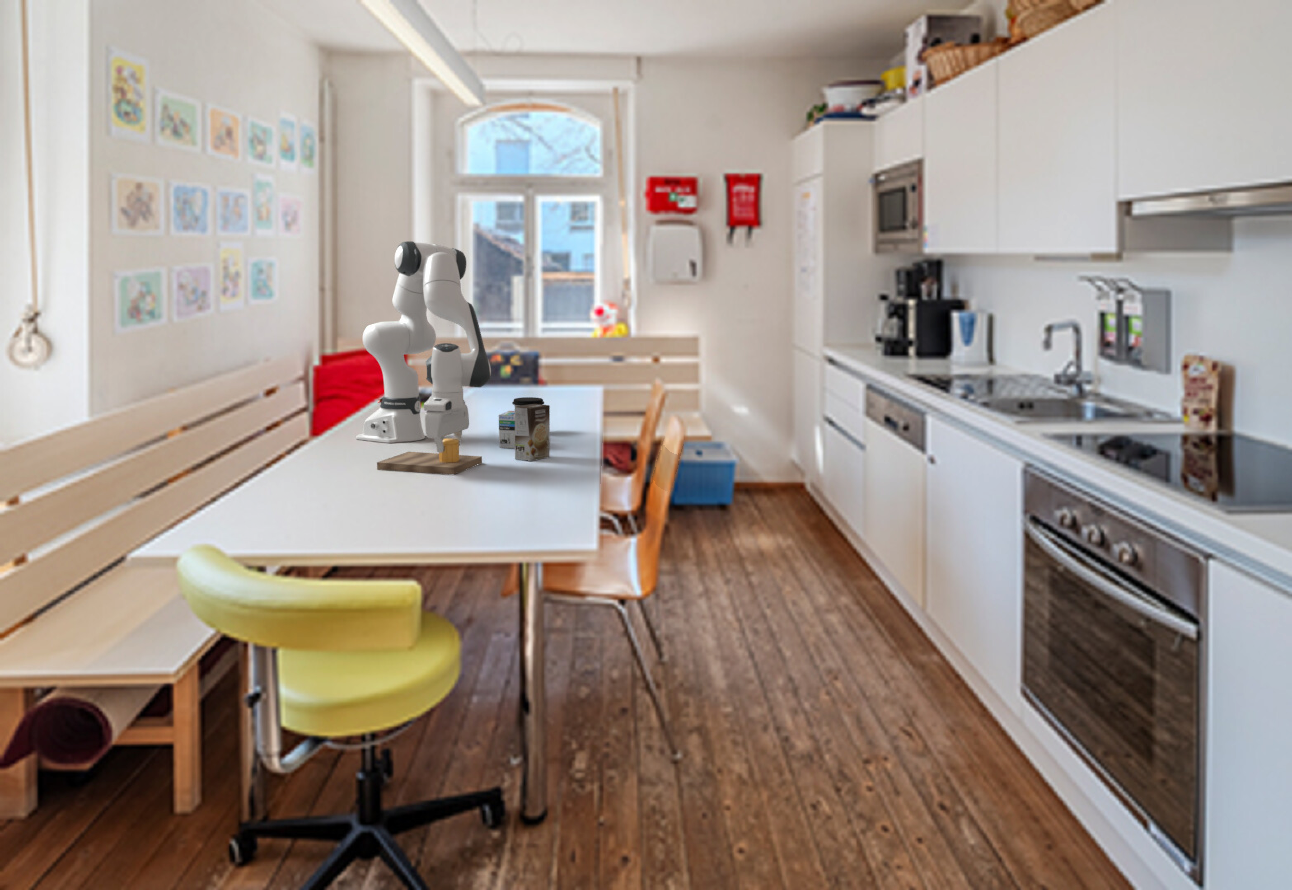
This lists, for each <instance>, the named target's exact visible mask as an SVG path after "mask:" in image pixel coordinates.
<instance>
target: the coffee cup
mask: <svg viewBox="0 0 1292 890" xmlns="http://www.w3.org/2000/svg"><path fill="white" fill-rule="evenodd" d="M530 404H542V405H545V401H544V399H543V398H541V397H532V396H531V397H530V396H529V397H517V398H514V399H513V401H512V405H513V406H514V407H515V406H522V405H530Z"/></svg>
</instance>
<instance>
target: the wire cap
mask: <svg viewBox="0 0 1292 890" xmlns="http://www.w3.org/2000/svg"><path fill="white" fill-rule="evenodd" d="M443 445H444V446H445V451H444V452H442V453H441V452H438V454H439V461H440V462H446V463H448V462H457V461H459V455H460V446H459V439H454V437H452V438H450V437H449V438H443Z"/></svg>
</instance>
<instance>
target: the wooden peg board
mask: <svg viewBox="0 0 1292 890" xmlns="http://www.w3.org/2000/svg"><path fill="white" fill-rule="evenodd" d="M477 464H479V465H481V464H483V456H482V455H481V456H479V455H467V454H465V455H464V454H459V461H457V462H448V463H446V462H440V461H439V452H435V453H434V452H423V451H421V452H420V451H419V452H418V451H407V452H404V453H400V454H398V455H395V456H393V457H388V458H386V459H383V460H379V461H378V462H377V461H376V469H377V470H380V469H382V470H381V471H394V470H395V472H396V471H397V472H410V473H411V472H412V473H422V474H435V473H442V474H441V475H449V474H455V475H457V474H459V473H462V472H464V471H467V470H470V469H472V468H473V466H474V467H476V466H478V465H477ZM475 465H476V466H475ZM466 469H467V470H466ZM456 473H457V474H456Z"/></svg>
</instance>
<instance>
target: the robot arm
mask: <svg viewBox="0 0 1292 890" xmlns="http://www.w3.org/2000/svg"><path fill="white" fill-rule="evenodd" d="M394 267H395V269H396V270H397V272H398V273H399V274H398V277H397V280H396V283H395V287H394V291H393V296H392V299H391V300H392V301H391V303H392V305H393V307H394V309H395V310H396V312H398V313H400V314H401V316H400V318H399V320H395V321H394V320H393V321H379V322H375V323H373V324H369V325H367V326H366V327H365V329H364V331H363V333H362V344H363V347H364V349H365V350H366V351H367V352H368V353H369V354H370V355H372V357H374V358H375V360H376V361H377V362H378V364H379V366H380V369H381V372H382V378H383V390H384V393H383V394H384V396H383V397H381V398H380V399H377V404H380V406H379V408H378V409H376V410H375V411H374V412H373V413H372V414H370V415H369V416H368V417H366V419H365V421H364V422H363V427H362V433H359V434H357V435H356V436H355V437H356V438H355V439H356V440H360V441H369V442H378V443H379V442H380V443H387V444H390V443H391V444H392V443H400V442H401V443H402V442H414V441H421V440H424V439H425V438H426V437H427V439H434V444H435V446H436V453H439V452H441V453H442V452H444V451H445V446H444V445H443V439H444V437H446V436H449V435H452V434H453V435H454V436H453V439H459V447H460V446H461V439H462V436H463V431H465V430H467V429H469V426H470V416H469V415H470V414H469V409H468V406H467V404H466V401H465V400H464V387H470V388H482V387H483V386H485V385H486V384H487V383H488V382H489V381H490V379H491V374H492V369H491V367H492V366H491V364H490V361H489V358H488V355H487V352H486V349H485V345H484V340H483V336H482V333H481V329H480V324H479V320H478V317H477V313H476V311H475V308H474V306H473V304H472V303H470V302H469V301H467V300H466V299H465V297H464V296H463V294H462V285H461V280H462V279H463V278H464V276H465V274H466V270H467V258H466V255H465V253H464V252H463V251H462V250H459V249H457V248H453V247H452V248H451V247H447V246H444V245H441V244H436V243H426V242H425V243H424V242H415V241H411V240H410V241H402V242H401V243H399V244H398V246H397V248H396V251H395V253H394ZM427 311H429V312H431V313H432V314H433V315H434V316H437V317H438V318H440V319H443V320H446V321H449V322H451V323H454V324H456V325H459V326H460V327H462V328H463V330H464V331H465V334H466V337H467V338H466V339H467V342H468V346H469V351H470V352H466V353H461V348H460V346H459V345H457V344H454V343H451V342H449V343H448V342H444V343H438V344H436V339H437V333H436V331H435V329H434V327H433V326H432V324H431V323H430V322H429V321H428V316H427ZM435 344H436V345H435ZM430 350H432V352H431V355H430V357H429V358H428V359H427V360H425V365H426V381H428V382H429V383H430V384H431V385H432V387H431V395H430V396H429V398H428V399H427V400H426V401H425V402H424V403H423V411H426V412H425V415H424V428H425V433H424V430H423V426H422V421H421V420H422V419H421V418H422V417H421V396H420V394H419V387H420V386H419V374H418V372H417V370H416V369H414V368H413V367H411V366H409V365H408V364H407V362H406V360H405V356H404V355H414V354H415V355H416V354H421V353H424V352H427V351H430ZM425 435H426V436H425Z"/></svg>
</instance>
